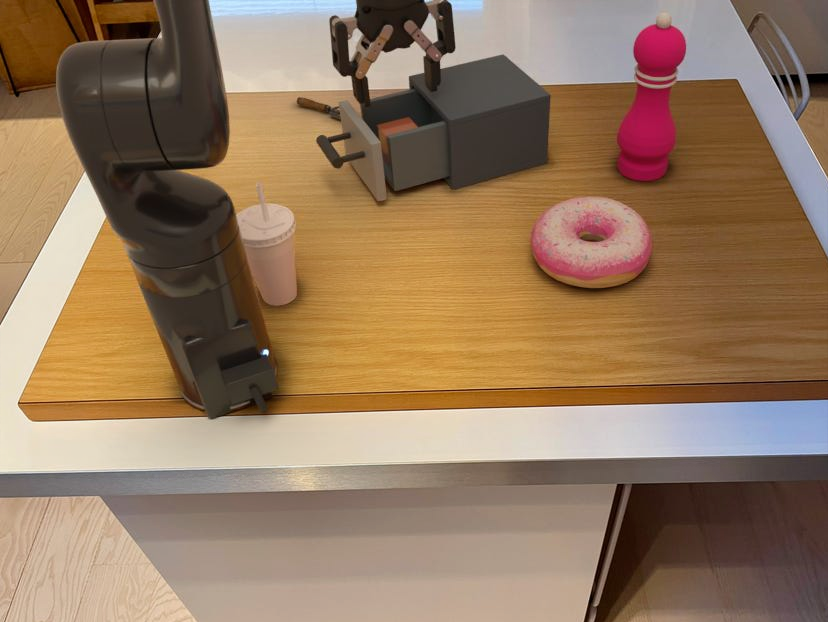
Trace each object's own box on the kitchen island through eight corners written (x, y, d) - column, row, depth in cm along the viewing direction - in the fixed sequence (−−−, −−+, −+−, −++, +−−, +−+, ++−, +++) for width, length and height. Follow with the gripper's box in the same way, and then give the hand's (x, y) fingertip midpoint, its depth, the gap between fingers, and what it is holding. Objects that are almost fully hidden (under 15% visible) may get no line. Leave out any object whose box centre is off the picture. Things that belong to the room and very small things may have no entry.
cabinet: (452, 190, 103) (449, 120, 96) (413, 143, 111) (408, 75, 104) (547, 163, 107) (550, 94, 100) (502, 120, 115) (503, 53, 108)
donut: (551, 308, 87) (553, 271, 83) (514, 235, 96) (515, 199, 92) (668, 285, 89) (676, 248, 86) (621, 216, 98) (626, 180, 95)
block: (425, 163, 103) (423, 132, 100) (393, 172, 102) (390, 141, 99) (411, 147, 106) (409, 116, 103) (379, 156, 105) (376, 124, 102)
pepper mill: (668, 155, 108) (695, 0, 94) (672, 185, 103) (700, 27, 89) (613, 152, 109) (631, -1, 94) (614, 182, 104) (633, 25, 89)
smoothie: (297, 317, 86) (272, 206, 76) (240, 309, 87) (208, 198, 77) (317, 279, 91) (296, 169, 81) (263, 272, 92) (235, 162, 82)
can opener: (296, 105, 118) (295, 98, 117) (307, 99, 120) (306, 91, 119) (344, 123, 115) (343, 115, 114) (355, 116, 116) (354, 108, 115)
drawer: (345, 211, 98) (336, 153, 93) (315, 165, 106) (305, 109, 100) (470, 175, 103) (469, 119, 98) (433, 134, 111) (430, 79, 105)
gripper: (333, -24, 82) (353, 124, 93) (462, -47, 86) (465, 97, 98) (310, -47, 87) (331, 96, 98) (433, -68, 91) (440, 71, 103)
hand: (398, 96), depth 98 cm, fingers open, 8 cm apart
